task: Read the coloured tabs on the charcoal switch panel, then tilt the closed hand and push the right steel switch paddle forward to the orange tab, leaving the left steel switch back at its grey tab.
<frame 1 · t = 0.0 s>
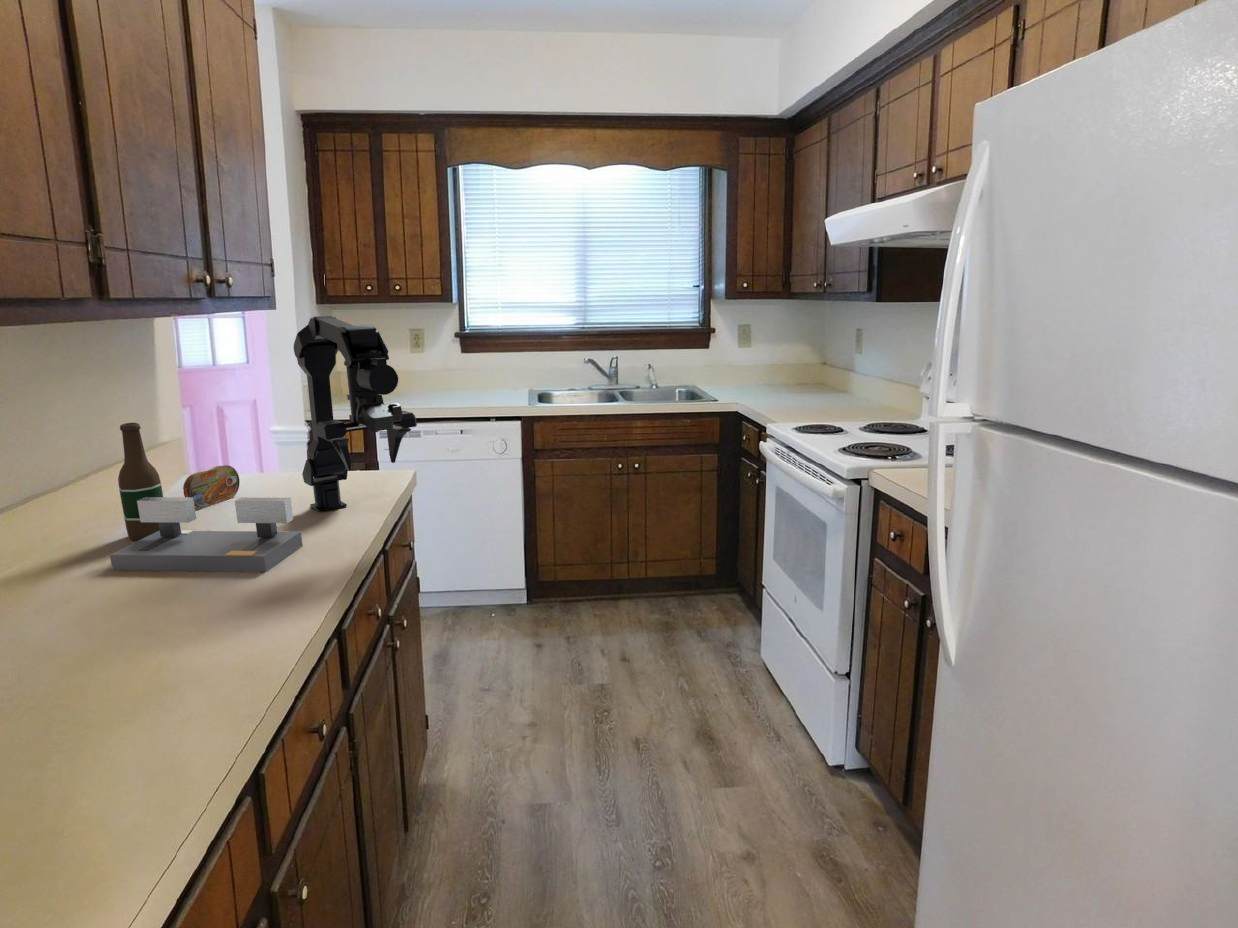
hand: (371, 466, 160), 15 cm above the counter, tool pointing down, fingers open, 9 cm apart
switch 2: (265, 517, 154), point 7 cm above the counter, slide at 0.0 cm
switch 1: (168, 517, 155), point 7 cm above the counter, slide at 0.0 cm
beer bottle: (148, 536, 167), on the counter
tin: (214, 503, 191), on the counter
switch panel: (210, 557, 153), on the counter
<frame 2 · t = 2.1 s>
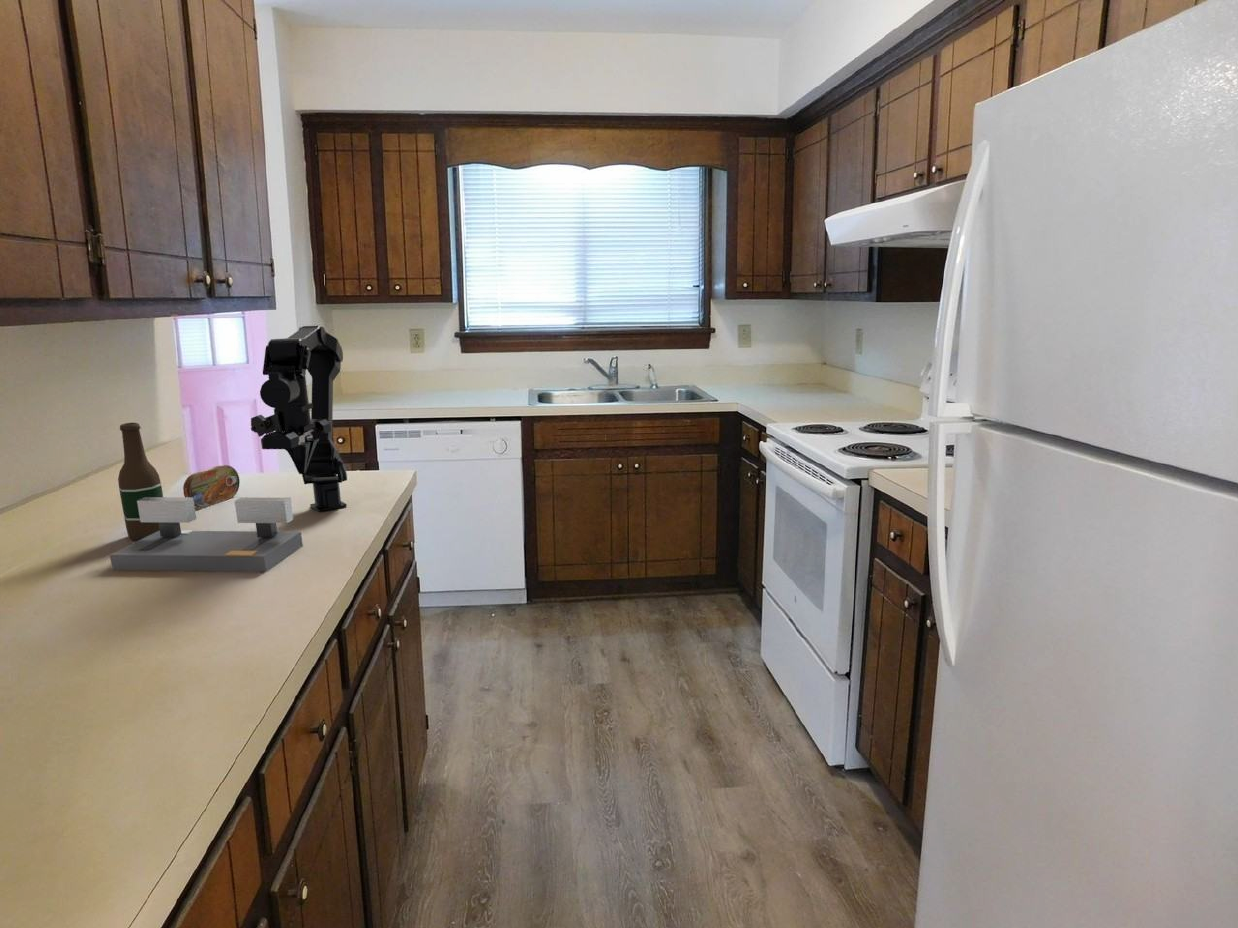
hand: (302, 473, 167), 12 cm above the counter, tool pointing down, fingers closed
nothing on the counter moved.
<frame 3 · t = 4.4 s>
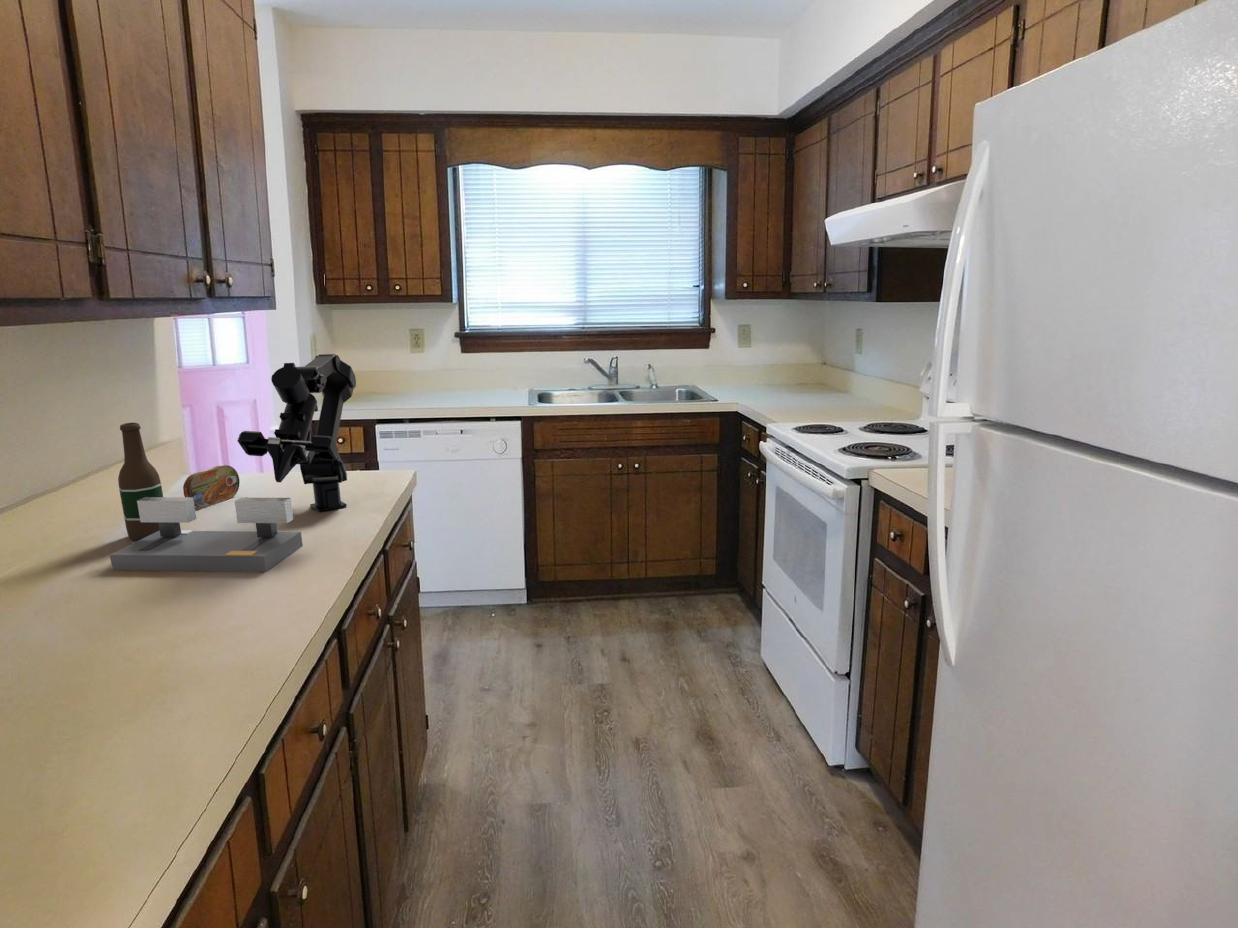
hand: (277, 481, 159), 13 cm above the counter, tool tilted 45°, fingers closed
nothing on the counter moved.
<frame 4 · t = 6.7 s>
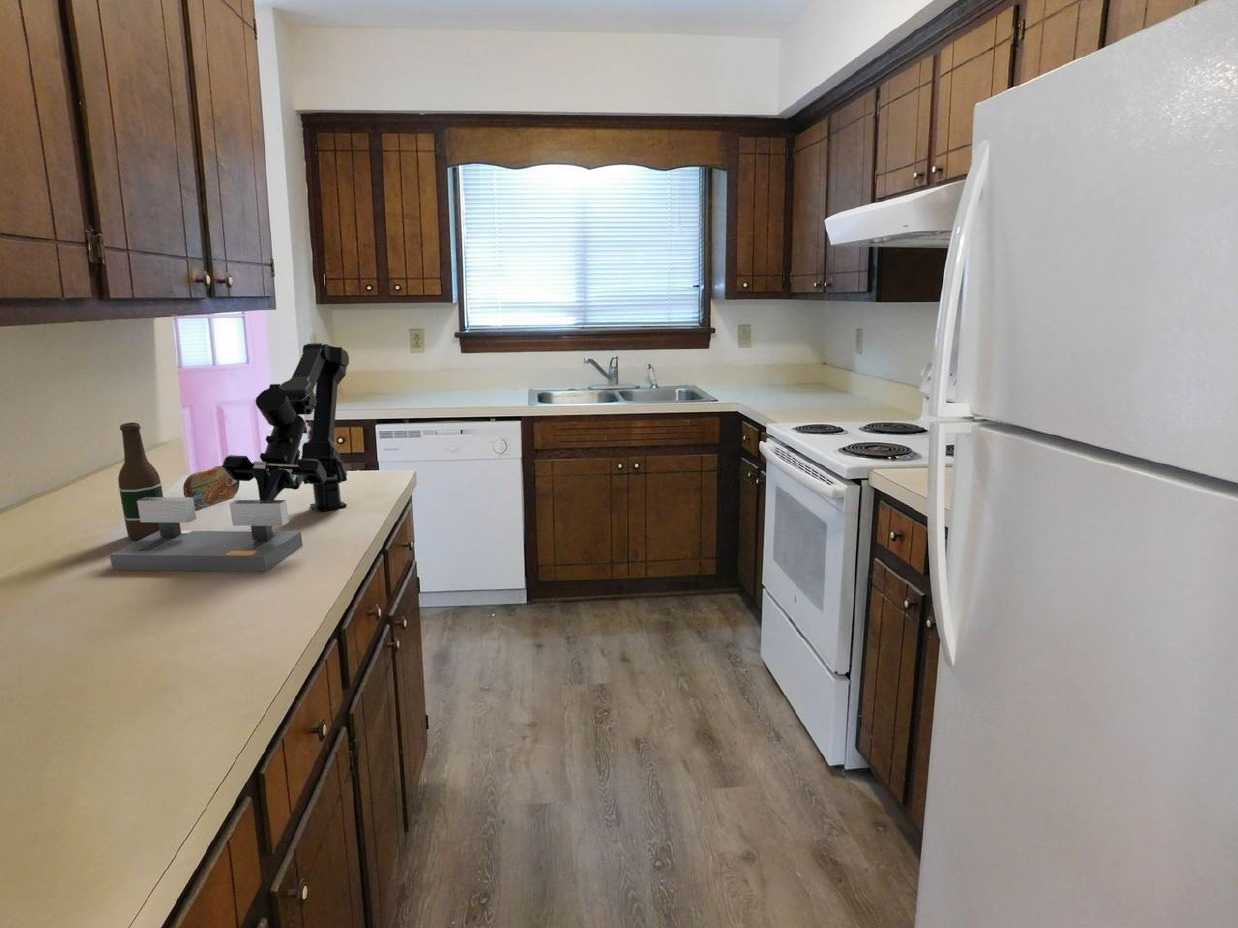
hand: (263, 507, 153), 9 cm above the counter, tool tilted 45°, fingers closed
switch 2: (260, 520, 152), point 7 cm above the counter, slide at 1.7 cm, touching gripper
everything else where it was.
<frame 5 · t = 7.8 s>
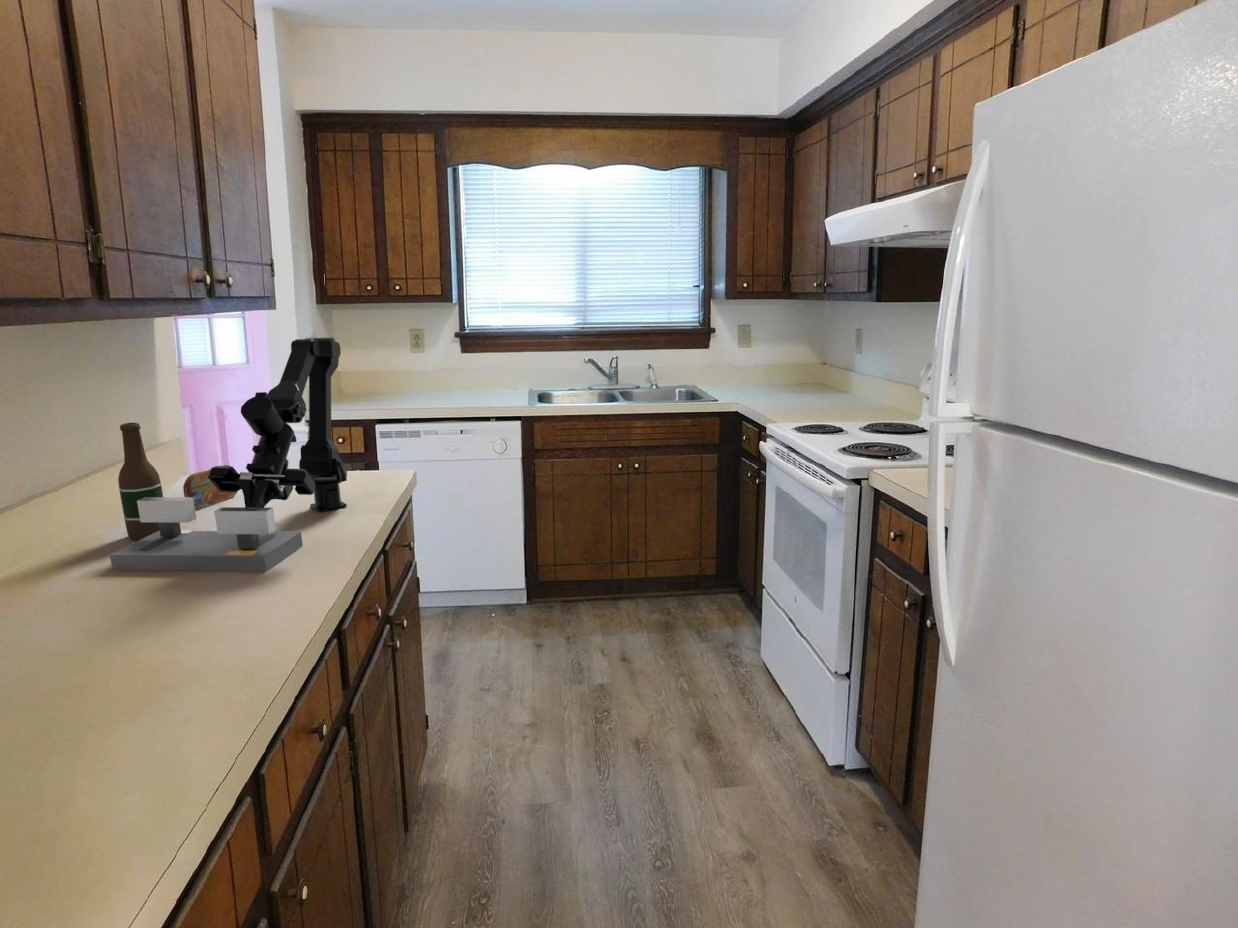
hand: (249, 519, 148), 8 cm above the counter, tool tilted 45°, fingers closed
switch 2: (246, 528, 147), point 7 cm above the counter, slide at 6.6 cm
everything else where it was.
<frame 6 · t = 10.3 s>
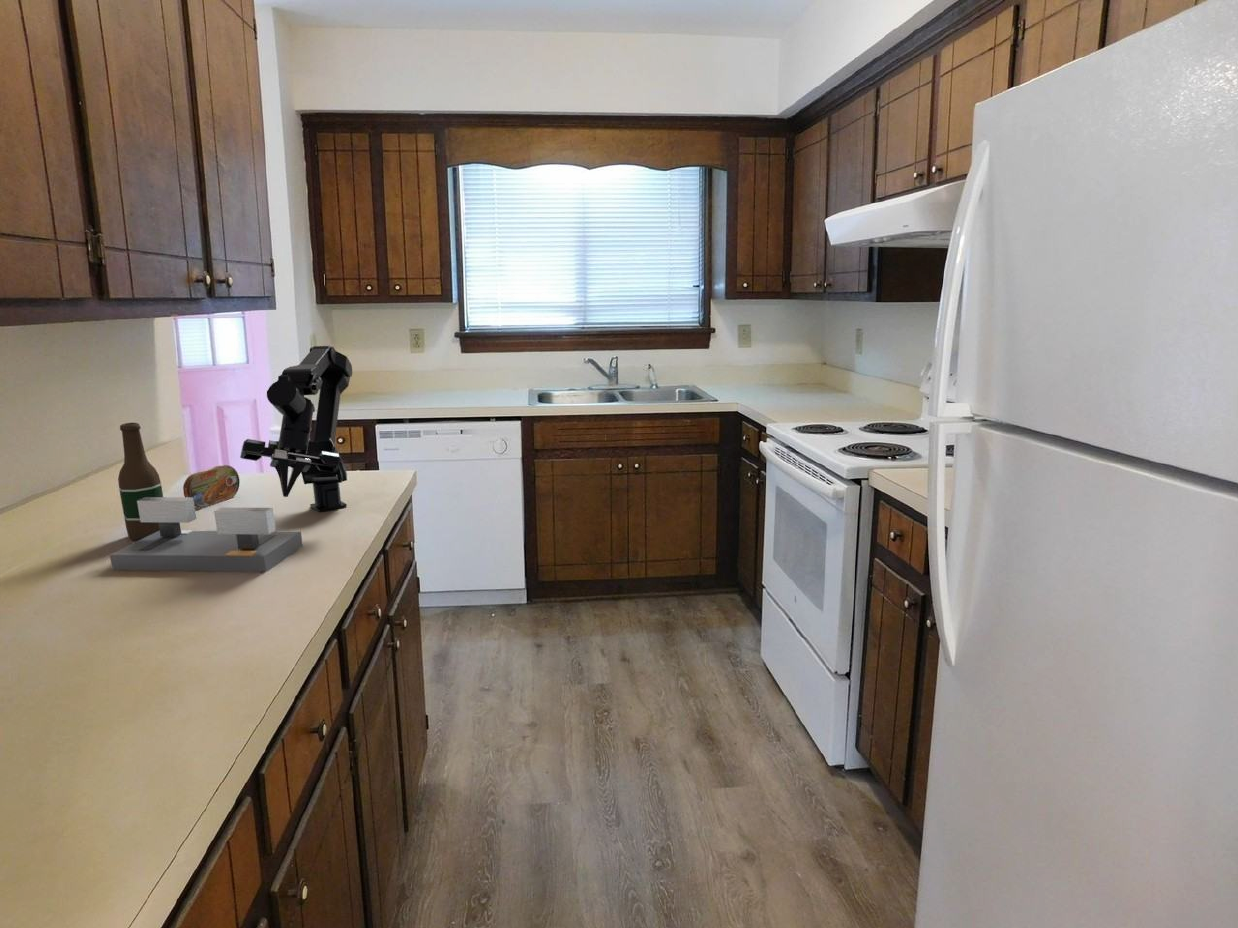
hand: (285, 496, 161), 9 cm above the counter, tool tilted 30°, fingers closed
nothing on the counter moved.
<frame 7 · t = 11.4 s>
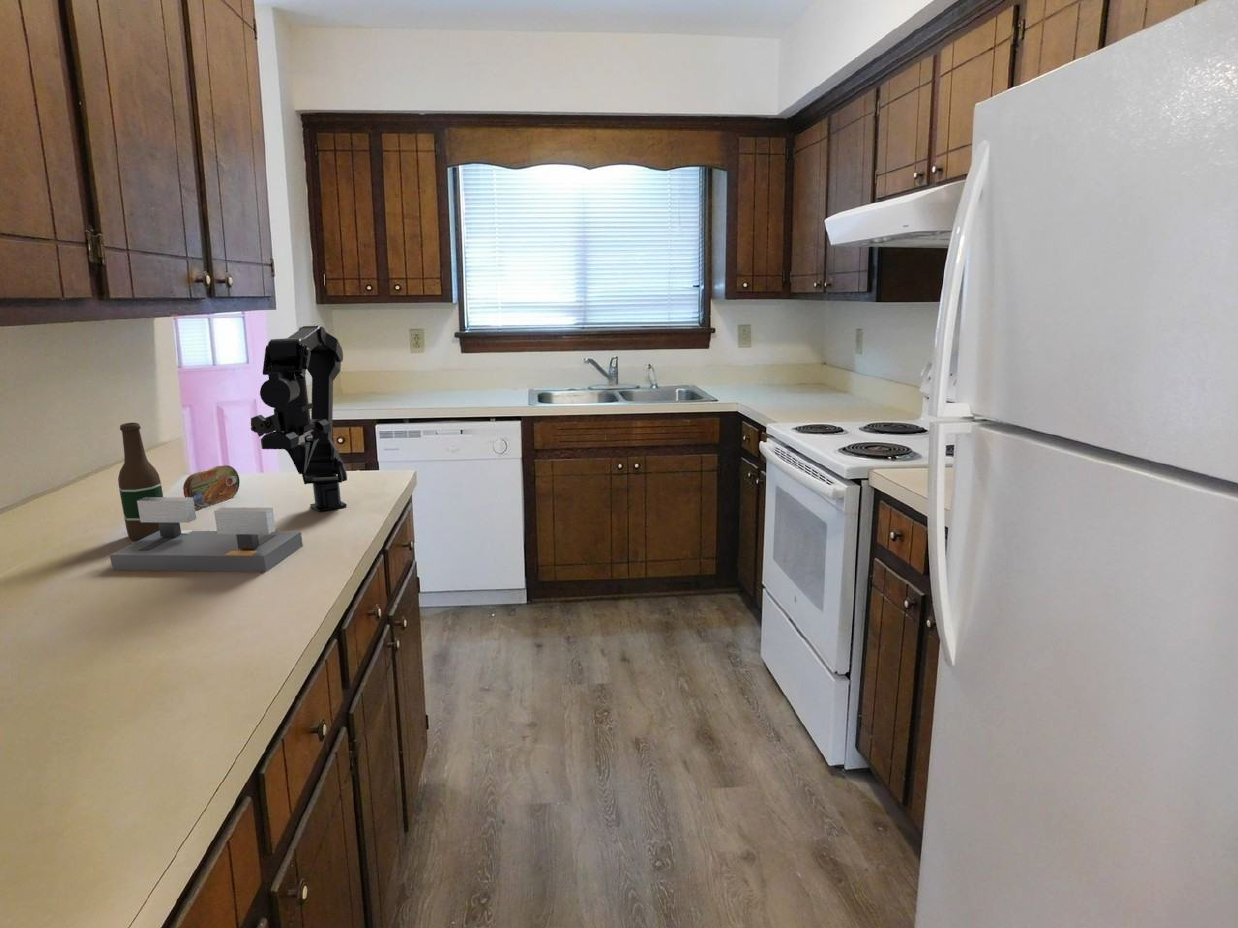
hand: (302, 473, 167), 12 cm above the counter, tool pointing down, fingers closed
nothing on the counter moved.
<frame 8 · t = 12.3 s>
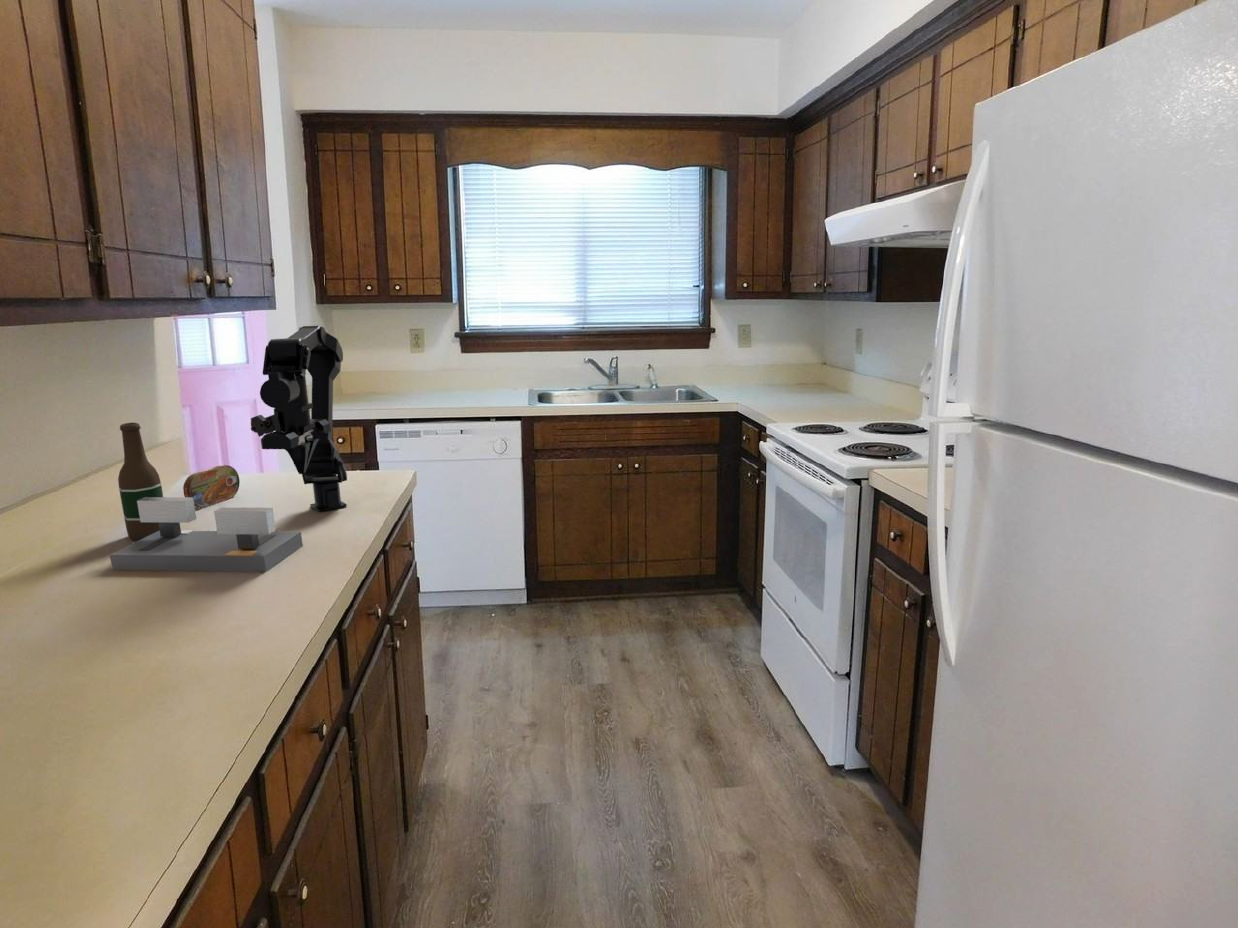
hand: (302, 473, 167), 12 cm above the counter, tool pointing down, fingers closed
nothing on the counter moved.
at the end: switch 2 slide at 6.7 cm; switch 1 slide at 0.0 cm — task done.
